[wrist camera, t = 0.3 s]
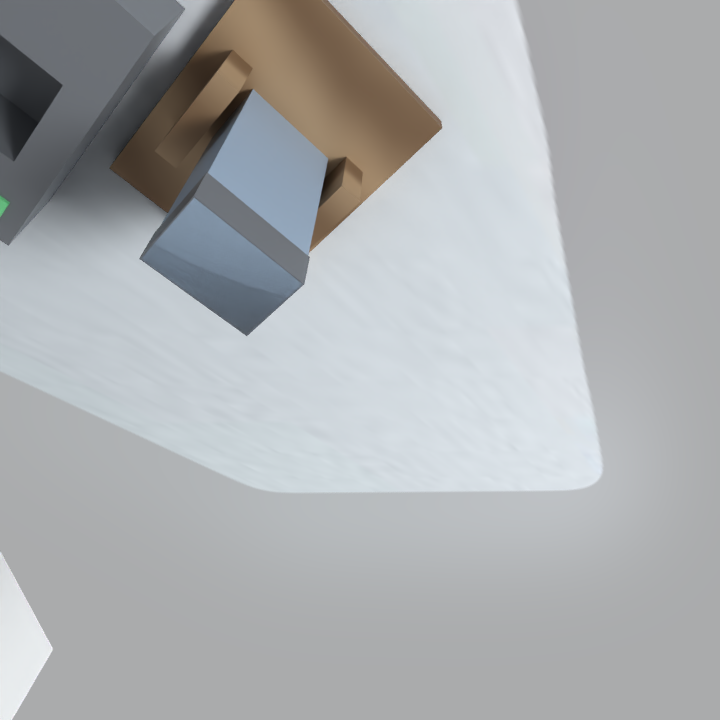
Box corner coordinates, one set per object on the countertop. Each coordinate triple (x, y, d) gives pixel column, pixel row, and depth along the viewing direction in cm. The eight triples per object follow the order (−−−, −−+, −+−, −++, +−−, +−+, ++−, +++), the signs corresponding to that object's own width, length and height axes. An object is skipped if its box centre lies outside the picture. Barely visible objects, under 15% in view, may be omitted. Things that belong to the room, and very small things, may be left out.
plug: (252, 87, 32) (193, 195, 23) (329, 158, 34) (304, 284, 25) (210, 138, 34) (139, 258, 24) (285, 203, 36) (246, 336, 27)
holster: (276, -55, 29) (259, -38, 25) (441, 121, 34) (446, 155, 30) (115, 160, 36) (85, 196, 32) (270, 281, 40) (258, 325, 37)
